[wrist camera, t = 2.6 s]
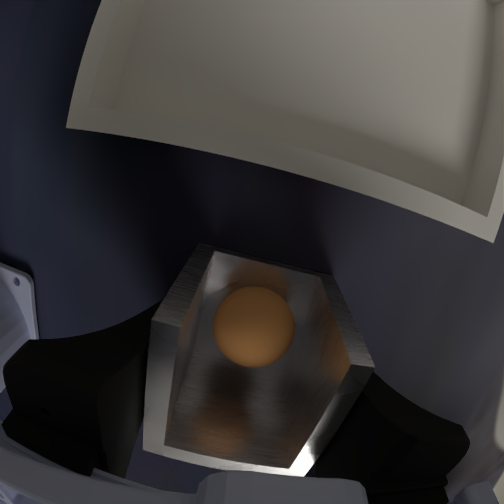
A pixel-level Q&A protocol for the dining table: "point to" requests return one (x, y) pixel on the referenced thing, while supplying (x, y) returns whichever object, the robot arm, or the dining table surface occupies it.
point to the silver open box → (250, 370)
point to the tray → (315, 92)
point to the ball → (253, 326)
